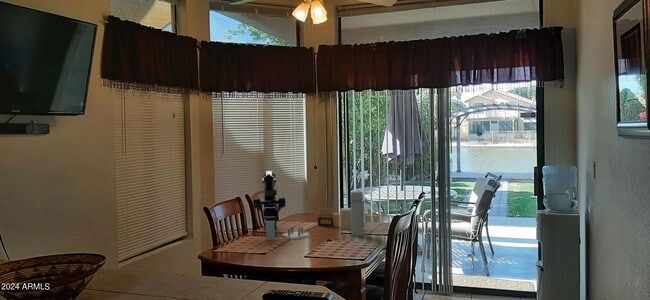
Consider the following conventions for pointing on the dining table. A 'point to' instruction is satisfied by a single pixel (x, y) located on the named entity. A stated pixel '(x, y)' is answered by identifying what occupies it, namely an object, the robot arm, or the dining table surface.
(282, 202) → the robot arm
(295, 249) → the dining table surface
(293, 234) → the base plate
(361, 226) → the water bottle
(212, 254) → the dining table surface
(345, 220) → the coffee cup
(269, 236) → the block
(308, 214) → the dining table surface
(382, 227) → the dining table surface
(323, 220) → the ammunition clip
